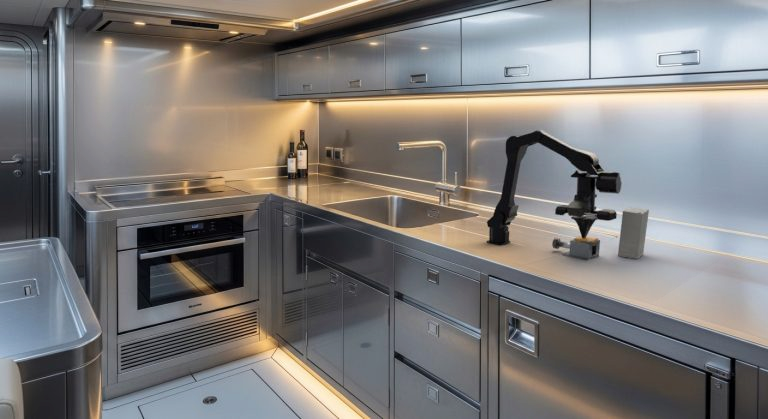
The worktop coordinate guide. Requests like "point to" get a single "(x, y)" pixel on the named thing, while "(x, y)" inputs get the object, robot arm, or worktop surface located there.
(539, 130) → the robot arm
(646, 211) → the skincare box
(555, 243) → the pin
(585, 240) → the plate
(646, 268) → the worktop surface
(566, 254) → the bracket
